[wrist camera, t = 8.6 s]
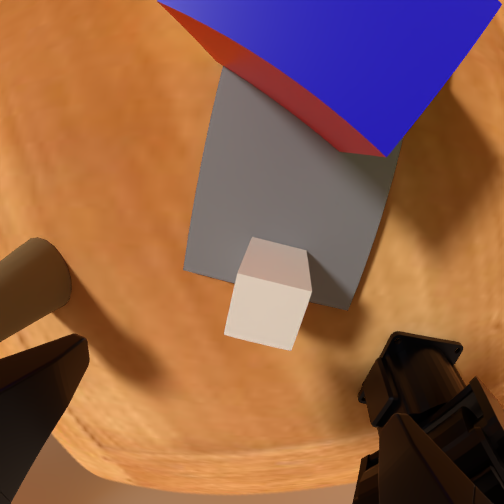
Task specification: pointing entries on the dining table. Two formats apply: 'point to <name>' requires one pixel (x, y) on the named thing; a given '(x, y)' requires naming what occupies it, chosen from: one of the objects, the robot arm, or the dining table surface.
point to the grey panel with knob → (281, 214)
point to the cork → (31, 285)
